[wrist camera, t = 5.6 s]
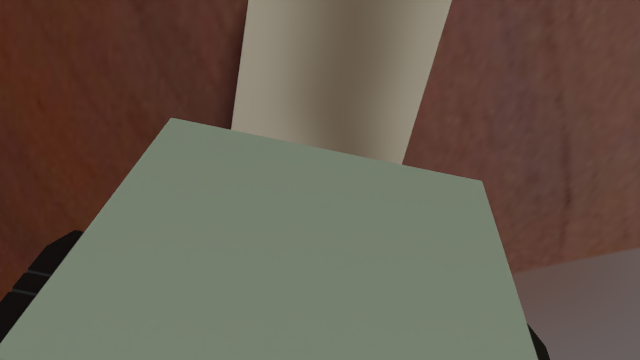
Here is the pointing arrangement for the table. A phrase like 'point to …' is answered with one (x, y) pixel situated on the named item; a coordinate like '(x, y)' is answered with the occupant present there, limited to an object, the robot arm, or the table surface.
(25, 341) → the green cube
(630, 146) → the table surface
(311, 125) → the maple block
